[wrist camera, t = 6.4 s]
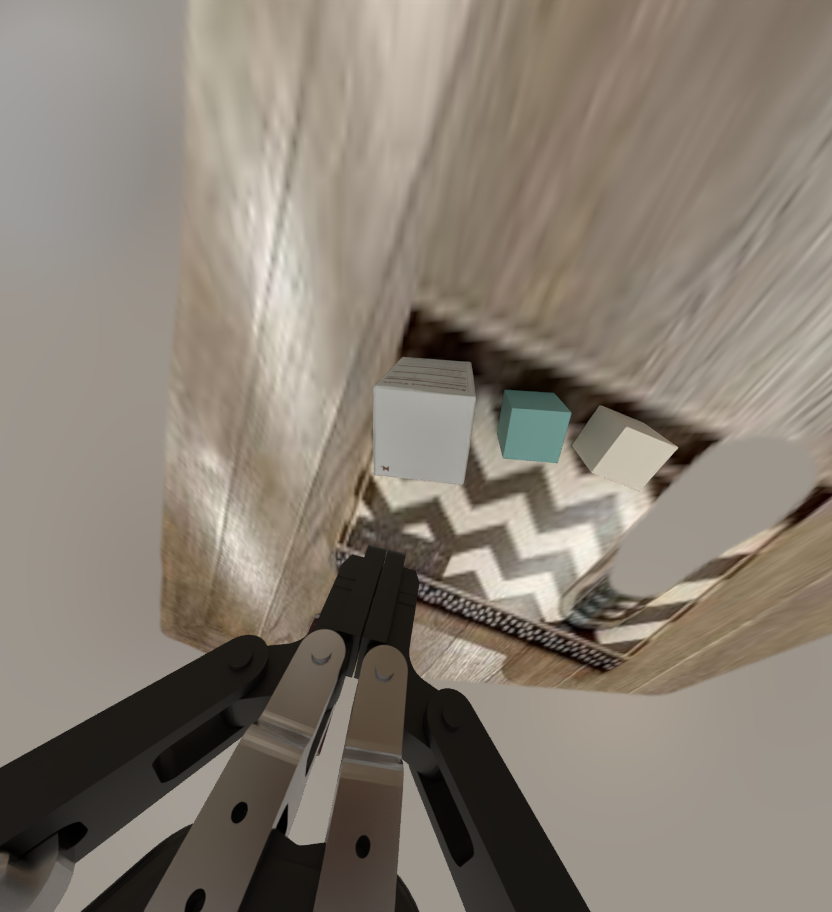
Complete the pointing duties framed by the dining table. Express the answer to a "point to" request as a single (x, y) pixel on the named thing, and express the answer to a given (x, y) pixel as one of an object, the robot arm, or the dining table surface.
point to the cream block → (622, 448)
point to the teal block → (532, 426)
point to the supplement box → (424, 420)
